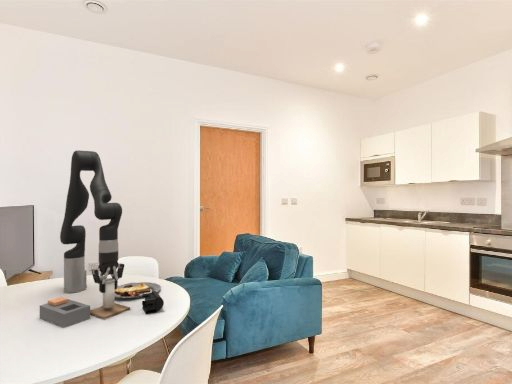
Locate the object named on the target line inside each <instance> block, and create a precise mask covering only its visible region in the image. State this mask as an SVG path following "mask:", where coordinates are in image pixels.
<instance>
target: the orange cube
mask: <svg viewBox="0 0 512 384" xmlns="http://www.w3.org/2000/svg"><path fill="white" fill-rule="evenodd" d="M68 299H69V298H66V297H63V296H59V297H56V298H53V299H52V298H51V299H49V300H47V303H48V304H51V305H54V306H57V305H60V304H64V303H66V302H68Z"/></svg>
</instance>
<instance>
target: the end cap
mask: <svg viewBox="0 0 512 384" xmlns="http://www.w3.org/2000/svg"><path fill="white" fill-rule="evenodd" d="M151 292H152V293H151ZM151 292H147V293H145V294H142V297H141V299H144V300H142V301H141V305H142V310H143V312H144V314H145V315H151V314H157V313H159V311H161V310H162V309H163V306H164V299H163V298H162V297H161V295H160V294H159V293H158V292H156V291H152V290H151Z"/></svg>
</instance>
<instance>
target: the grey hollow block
mask: <svg viewBox="0 0 512 384" xmlns="http://www.w3.org/2000/svg"><path fill="white" fill-rule="evenodd" d="M67 299H68V302H66V303H64V304H60V305H57V306H54V305H51V304H48V302H47V303H43V304H41V305H40V304H39V319H41V320H44V321H46V322H49V323H51V324H54V325H56V326H58V327H61V328H63V329H65V328H67V327H70V326H73V325H75V324H78V323H81V322H84V321H87V320H90V319H91V315H90V310H91V305H89V304H86V303H82V302H79V301H76V300H73V299H69V298H67Z"/></svg>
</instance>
